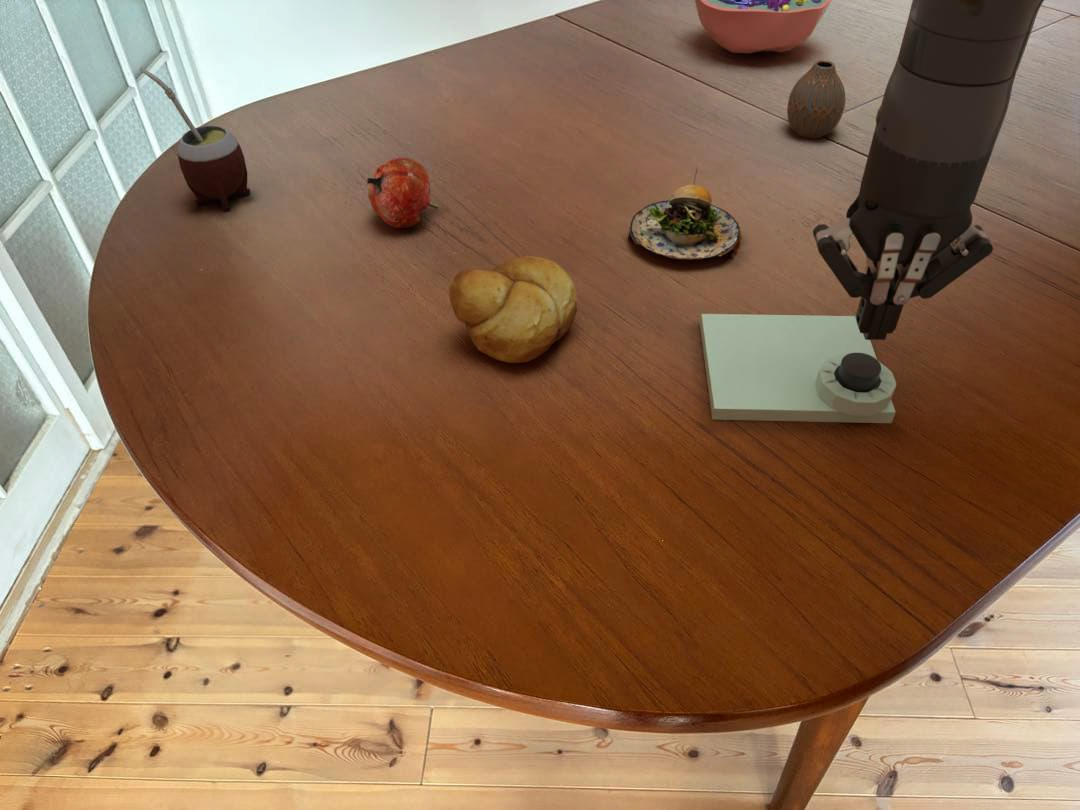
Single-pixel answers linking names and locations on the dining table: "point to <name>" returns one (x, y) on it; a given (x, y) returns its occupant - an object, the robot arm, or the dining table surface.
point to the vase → (816, 101)
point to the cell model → (760, 23)
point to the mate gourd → (209, 159)
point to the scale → (788, 369)
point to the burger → (686, 226)
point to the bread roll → (515, 307)
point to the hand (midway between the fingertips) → (872, 333)
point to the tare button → (859, 372)
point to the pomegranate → (400, 192)
